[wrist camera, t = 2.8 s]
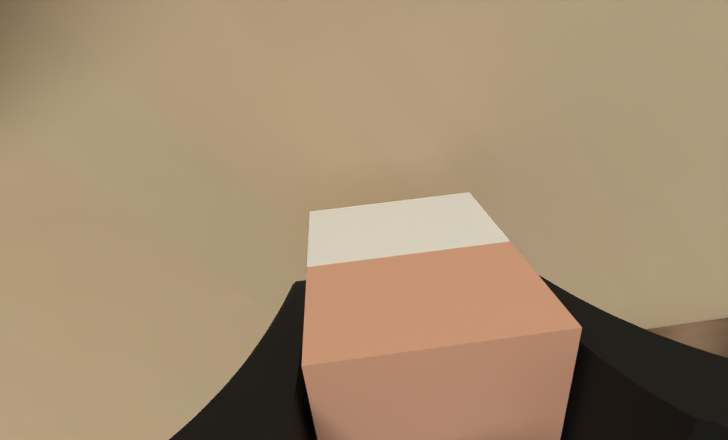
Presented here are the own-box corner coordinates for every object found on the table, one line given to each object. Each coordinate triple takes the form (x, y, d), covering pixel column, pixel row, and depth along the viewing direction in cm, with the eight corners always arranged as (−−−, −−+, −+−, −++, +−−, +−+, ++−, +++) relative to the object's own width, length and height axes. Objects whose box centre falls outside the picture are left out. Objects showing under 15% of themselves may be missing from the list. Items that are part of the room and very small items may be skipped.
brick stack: (469, 192, 12) (582, 327, 7) (465, 317, 15) (550, 492, 9) (309, 211, 12) (301, 366, 7) (330, 335, 14) (336, 525, 9)
